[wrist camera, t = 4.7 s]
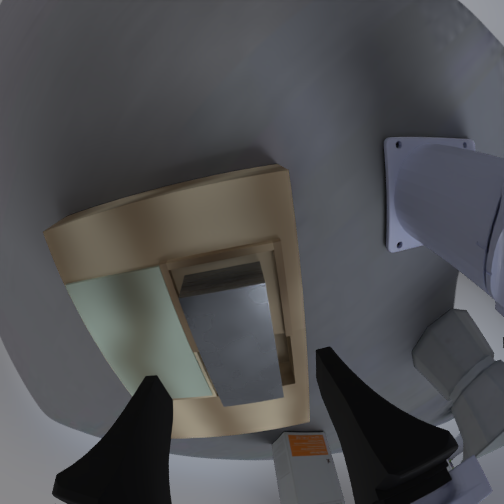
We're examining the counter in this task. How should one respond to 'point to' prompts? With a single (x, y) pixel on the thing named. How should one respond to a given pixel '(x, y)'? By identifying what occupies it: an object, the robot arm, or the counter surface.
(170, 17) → the counter surface
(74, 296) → the bamboo board
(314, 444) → the skincare box
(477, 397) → the coffee maker
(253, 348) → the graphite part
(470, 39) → the counter surface
